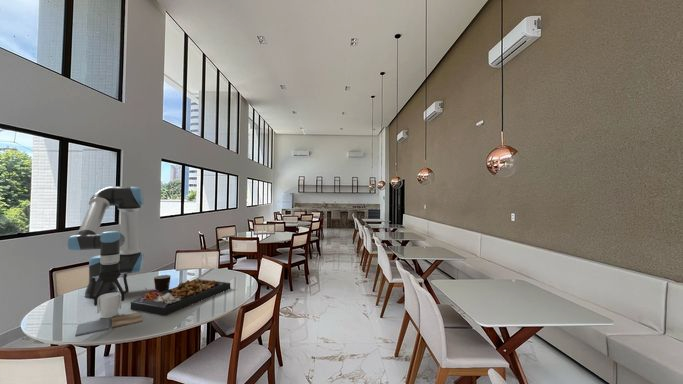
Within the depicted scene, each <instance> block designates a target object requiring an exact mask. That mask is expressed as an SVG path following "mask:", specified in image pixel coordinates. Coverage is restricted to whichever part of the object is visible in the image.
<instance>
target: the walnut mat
mask: <svg viewBox="0 0 683 384" xmlns="http://www.w3.org/2000/svg"><path fill="white" fill-rule="evenodd" d="M142 322H143V318H142V314H141V311H137V312H134V313H133V312H132V313H127V314H124V315H118V316H117V315H116V316H113V317H111V329H114V328H120V327H125V326H128V325H129V326H130V325H133V324H139V323H142Z"/></svg>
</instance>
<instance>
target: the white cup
mask: <svg viewBox="0 0 683 384" xmlns="http://www.w3.org/2000/svg"><path fill="white" fill-rule="evenodd" d="M120 294H121V293H120V292H118V291H117V292H114V293H107V294H103V295H101V296H99V297H98V298H99V303H100V308H99V314H100V315H99V316H100V318H101V319H107V318H109V319H110V318H112V317H117V315H118V314H119V298H120ZM118 316H119V315H118Z"/></svg>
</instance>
